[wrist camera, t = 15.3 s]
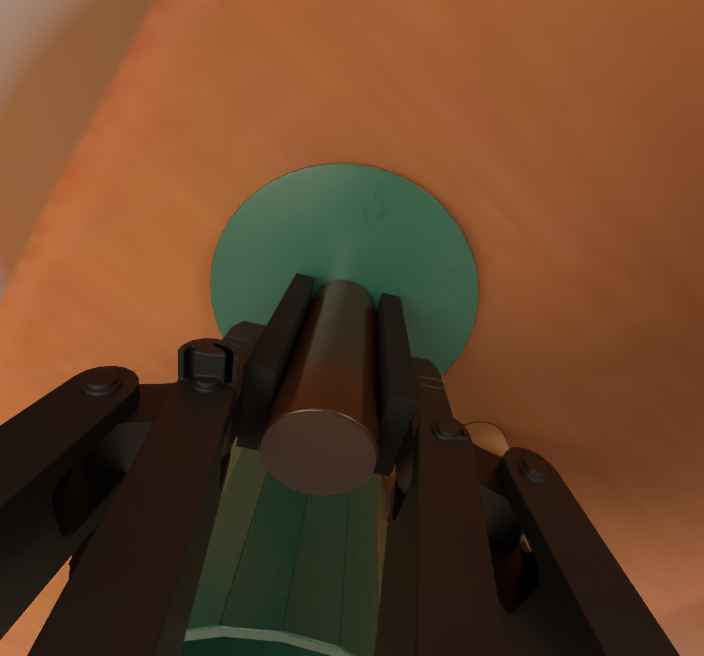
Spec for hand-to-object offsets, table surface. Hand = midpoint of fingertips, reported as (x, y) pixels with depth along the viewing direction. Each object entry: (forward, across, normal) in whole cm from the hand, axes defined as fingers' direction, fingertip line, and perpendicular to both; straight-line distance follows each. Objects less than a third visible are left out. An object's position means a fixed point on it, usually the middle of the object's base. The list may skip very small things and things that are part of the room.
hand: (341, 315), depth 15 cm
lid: (+1, 0, 0) cm, 1 cm away
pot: (+2, 0, -13) cm, 13 cm away
